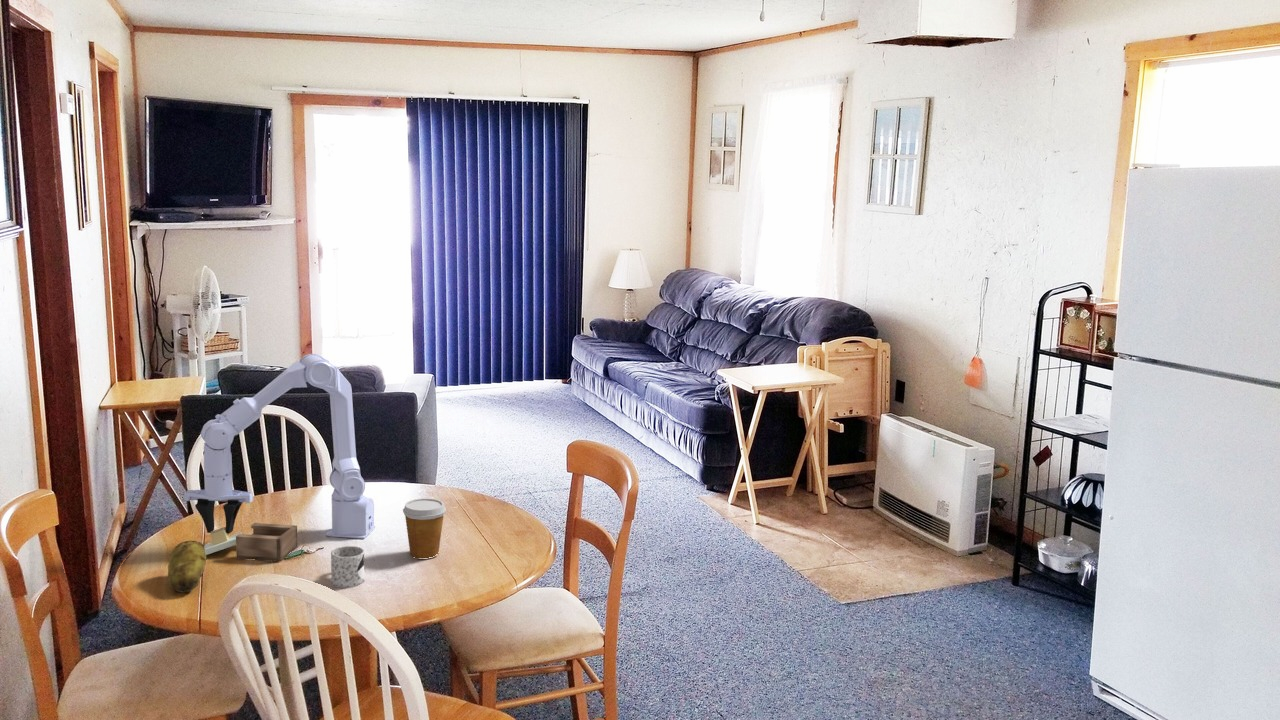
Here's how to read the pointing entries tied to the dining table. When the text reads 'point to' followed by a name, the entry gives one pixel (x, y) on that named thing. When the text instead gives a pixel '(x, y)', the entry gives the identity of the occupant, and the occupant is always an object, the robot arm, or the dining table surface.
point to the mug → (347, 566)
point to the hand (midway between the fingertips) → (220, 531)
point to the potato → (186, 565)
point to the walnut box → (267, 542)
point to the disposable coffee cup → (424, 526)
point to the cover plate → (221, 546)
